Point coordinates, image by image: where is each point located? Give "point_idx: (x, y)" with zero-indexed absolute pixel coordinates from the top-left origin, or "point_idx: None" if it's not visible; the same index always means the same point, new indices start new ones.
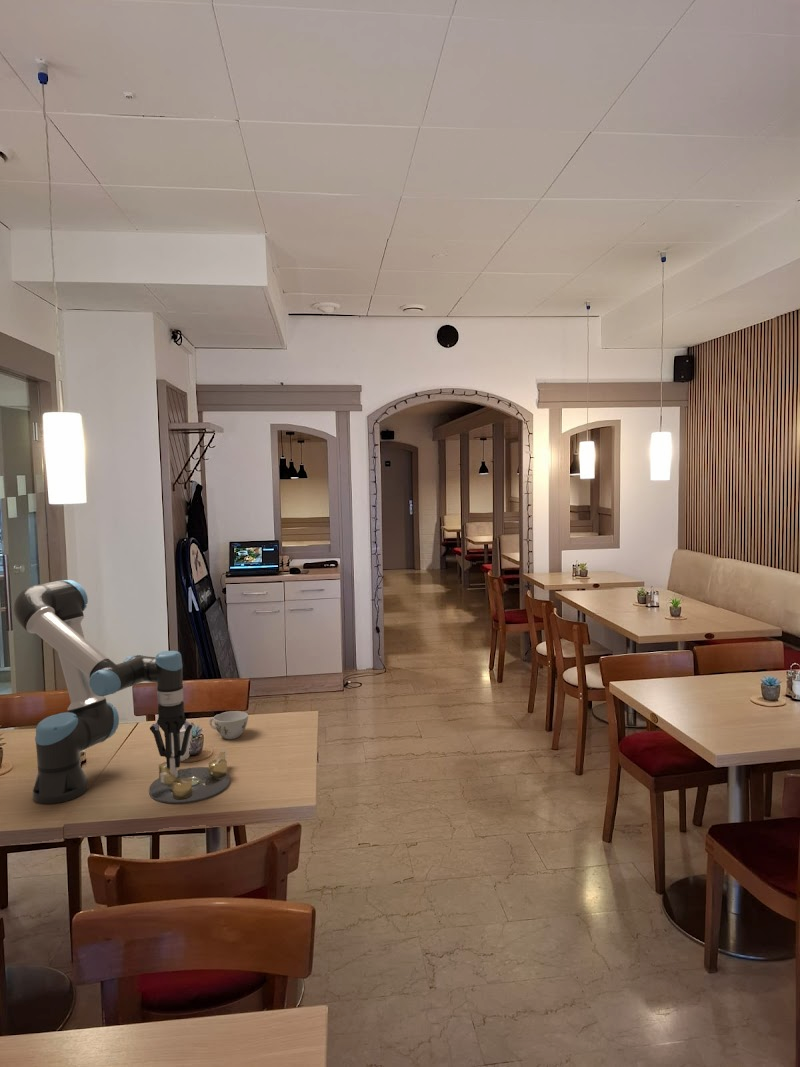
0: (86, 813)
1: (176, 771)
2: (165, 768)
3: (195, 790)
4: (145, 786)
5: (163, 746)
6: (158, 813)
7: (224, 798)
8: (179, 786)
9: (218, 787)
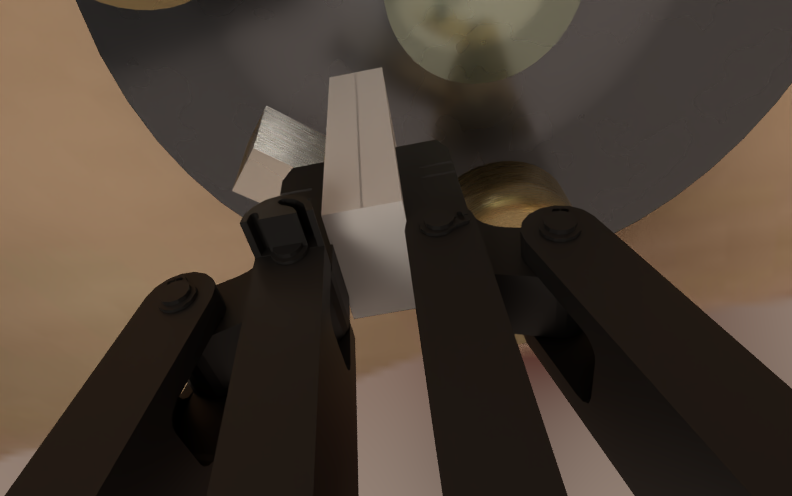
0: (10, 390)
1: (393, 133)
2: (170, 7)
3: (573, 128)
4: (30, 18)
5: (166, 409)
6: (410, 350)
7: (786, 165)
8: (522, 339)
9: (769, 57)
